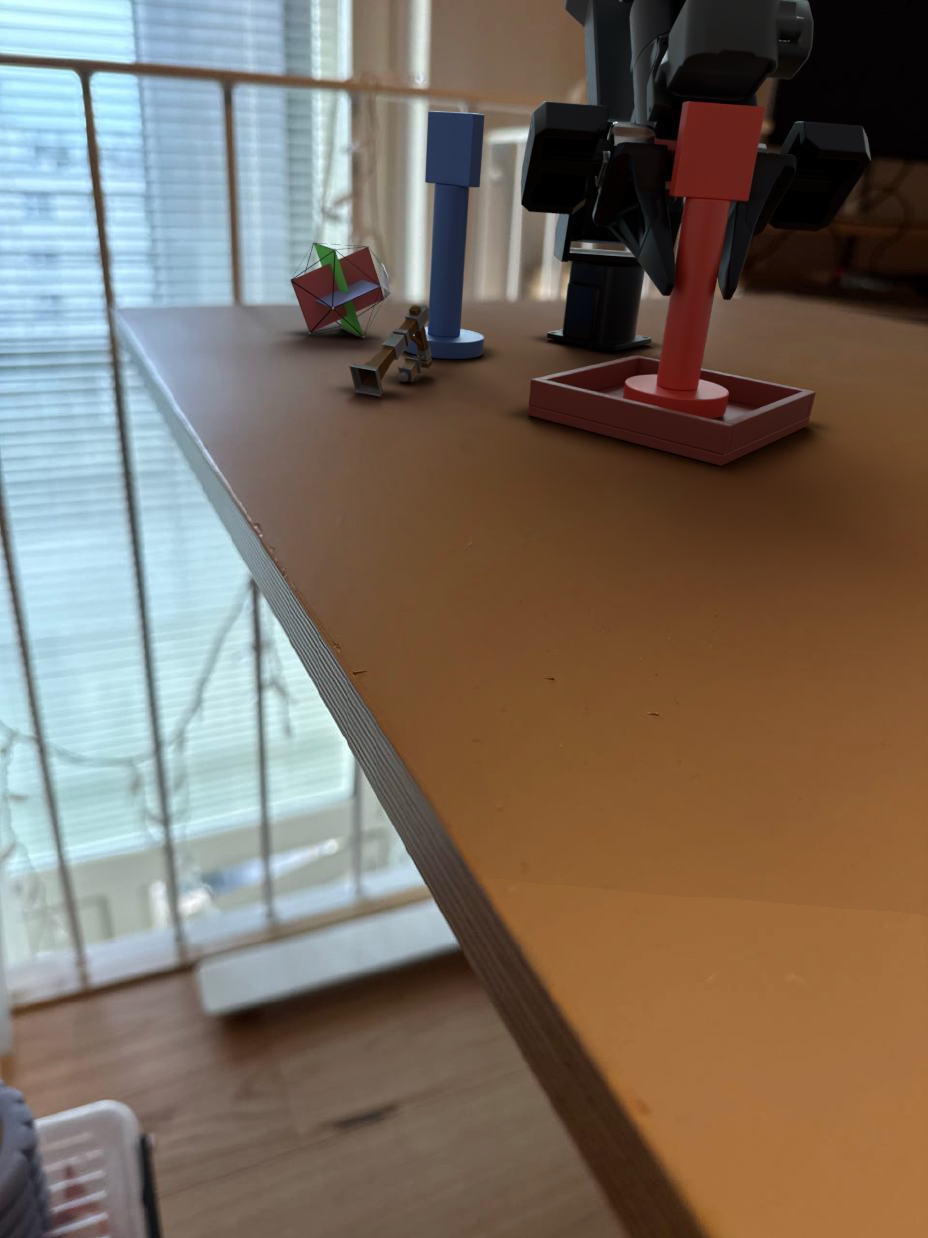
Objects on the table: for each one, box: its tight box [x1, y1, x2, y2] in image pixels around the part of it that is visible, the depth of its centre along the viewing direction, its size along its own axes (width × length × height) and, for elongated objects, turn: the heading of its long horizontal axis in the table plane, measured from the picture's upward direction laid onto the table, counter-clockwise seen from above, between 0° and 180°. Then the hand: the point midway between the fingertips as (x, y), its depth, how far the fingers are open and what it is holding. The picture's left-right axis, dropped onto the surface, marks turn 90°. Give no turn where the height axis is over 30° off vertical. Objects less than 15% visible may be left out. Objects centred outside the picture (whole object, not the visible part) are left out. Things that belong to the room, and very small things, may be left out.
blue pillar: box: [404, 110, 485, 360], centre depth 65 cm, size 6×6×16 cm
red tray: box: [527, 354, 817, 467], centre depth 54 cm, size 12×12×2 cm
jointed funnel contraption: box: [348, 303, 433, 397], centre depth 58 cm, size 2×8×4 cm, turn 154°
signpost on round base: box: [623, 101, 766, 419], centre depth 51 cm, size 6×6×16 cm
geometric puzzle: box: [289, 241, 391, 338], centre depth 71 cm, size 7×7×8 cm
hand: (699, 292), depth 50 cm, fingers closed on signpost on round base, 3 cm apart
